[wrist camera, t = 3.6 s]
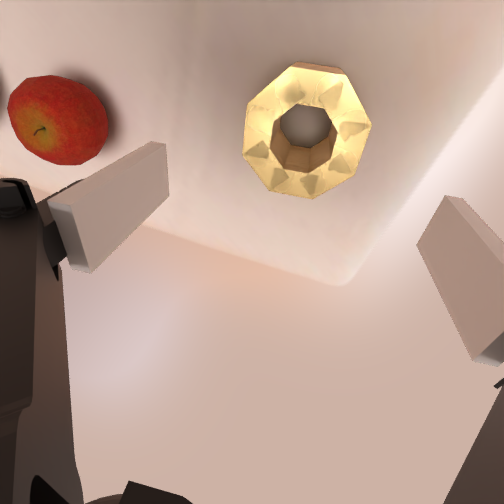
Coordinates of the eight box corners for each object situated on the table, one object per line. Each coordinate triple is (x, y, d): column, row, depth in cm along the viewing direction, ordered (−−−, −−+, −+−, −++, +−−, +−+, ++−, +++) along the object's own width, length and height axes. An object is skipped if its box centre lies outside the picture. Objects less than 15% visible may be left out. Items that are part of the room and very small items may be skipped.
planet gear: (254, 159, 30) (239, 185, 25) (266, 57, 25) (251, 60, 19) (339, 174, 29) (343, 205, 24) (371, 73, 24) (387, 81, 18)
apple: (137, 132, 31) (92, 154, 25) (92, 162, 34) (41, 188, 28) (86, 55, 27) (17, 59, 21) (40, 97, 31) (-30, 110, 24)
